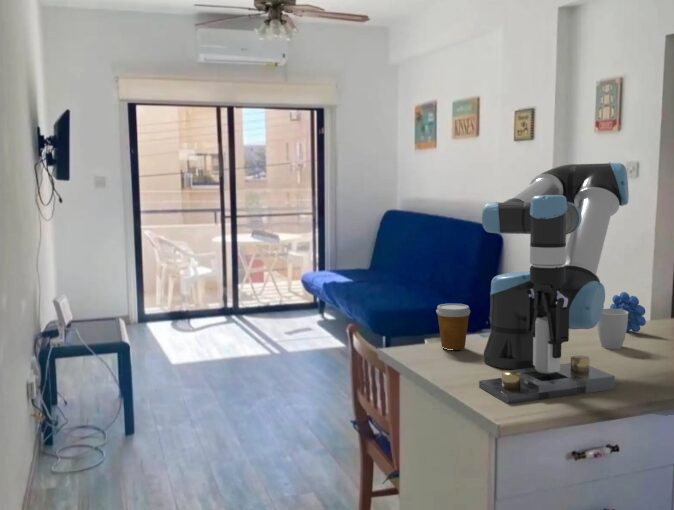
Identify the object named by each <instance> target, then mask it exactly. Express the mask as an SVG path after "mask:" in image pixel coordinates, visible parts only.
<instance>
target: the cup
mask: <svg viewBox="0 0 674 510" xmlns="http://www.w3.org/2000/svg"><path fill="white" fill-rule="evenodd" d="M627 323H628V311H625V310H620V309H610V308H603V312H602V315H601V318H600V320H599V322H598V323H597V324H596V327H597V328H596V329H597V333H598V338H599V341H600V346H601V347H602V348H603V347H604V348H603V349H607V348H609V350H619V348H620V349H622V346H623V345H624V341H625V339H626V333H627V331H626V330H627Z"/></svg>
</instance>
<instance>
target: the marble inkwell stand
mask: <svg viewBox="0 0 674 510" xmlns="http://www.w3.org/2000/svg"><path fill="white" fill-rule="evenodd" d="M590 359H591V358H590V357H588V356H584V355H572V356H570V362H569V363H562V364H561V363H560V371H558V372H555V373H551V374H546V373H540V372H538V371H537V370H536V369H535V368H527V369H507V370H503V371H501V377H498V378H491V379H482V380H478V387H479V389H482V390H483V391H486V392H487V393H489V394H491V396H494V397H495V398H497V399H499V400H501V401H502V402H504V403H505V404H507V405H509V404H517V403H523V402H531V401H540V400H544V399H545V400H546V399H554V398H560V397H561V398H562V397H567V396H573V395H574V396H575V395H581V394H588V393H596V392H603V391H609V390H610V391H612V390H615V383H616V382H615V378H616V377H615V375H613V374H611V373H608V372H605V371H602V370H600V369H598V368H595V367H593V366H590V363H591V362H590V361H591V360H590Z"/></svg>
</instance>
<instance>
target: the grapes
mask: <svg viewBox="0 0 674 510" xmlns="http://www.w3.org/2000/svg"><path fill="white" fill-rule="evenodd" d="M611 300H612V303H611V304H610V306H609V309H620V310H625V311H628V323H627V330H626V332H630V331H632V332H634V333H639V332H640V330H641V327H643V326H645V325H646V323H647V321H646V318H645V317H644V315H645V314H646V309H645V307H644V306H642V305H641V304H640V300H639V298H638V297H637V296H636V295H630V294H629V293H628V292H626V291H622V292H621V293H620V294H619V295H618V294H616V295H613V297H612V299H611Z"/></svg>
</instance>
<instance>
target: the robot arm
mask: <svg viewBox="0 0 674 510" xmlns="http://www.w3.org/2000/svg"><path fill="white" fill-rule="evenodd" d="M628 203H629V179H628V172H627V168H626V166H625V165H624V164H623V163H621V162H620V163H619V162H618V163H617V162H611V161H610V162H607V163H579V164H577V163H575V164H569V163H568V164H564V165H560V166H556V167H553V168H550V169H548V170H546V171H544V172H541V173H540V174H539V175H536V176H535V177H534V178H533V179H532V180H531V182H530V183H529V185H527V186H526V187H525V188H523V189H522V190H520V191H519V192H517V193H515V194H514V195H512V196H511V197H510V198H508V199H507V200H505V201H503V202H499V201H495V202H488V203H486V204H485V205H484V206H483V208H482V213H481V222H482V223H481V224H482V228H483V230H485V232H487V233H490V234H491V233H492V234H498V235H499V234H500V235H501V234H505V235H506V234H510V235H511V234H512V235H513V234H516V235H518V234H519V235H521V234H522V235H529V239H530V240H529V241H530V243H529V263H530V264H531V266H530V267H529V270H528V271H517V272H508V273H503V274H498V275H496V276H494V277H492V280H491V283H490V293H489V294H490V295H489V296H490V332H489V336H488V339H487V341H486V344H485V348H484V351H483V362H484V363H485V364H487V365H489V366H491V367H494V368H495V367H496V368H500V369H507V370H519V369H527V368H535V321H536V318H537V317H539V318H542V317H547V318H548V326H549V333H550V341H548V372H558V371H560V364H561V357H562V344H564V343H567V342H569V340H570V329H571V330H590V329H593V328H595V327H597V323H598V322H599V320H600V318H601V315H602V312H603V309H605V306H604V305H605V300H606V289H605V286H604V284H603V283H602V282H601V280H600V277H599V276H598V275H597V272H598V268H599V264H600V260H601V255H602V251H603V249H604V244H605V240H606V236H607V232H608V229H609V224H610V220H611V217H612V216H614V215H615V214H616V213H618V210H619V208H620V207H623V206H627V205H628ZM567 235H569V237H568V242H567ZM555 337H556V338H555Z"/></svg>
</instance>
